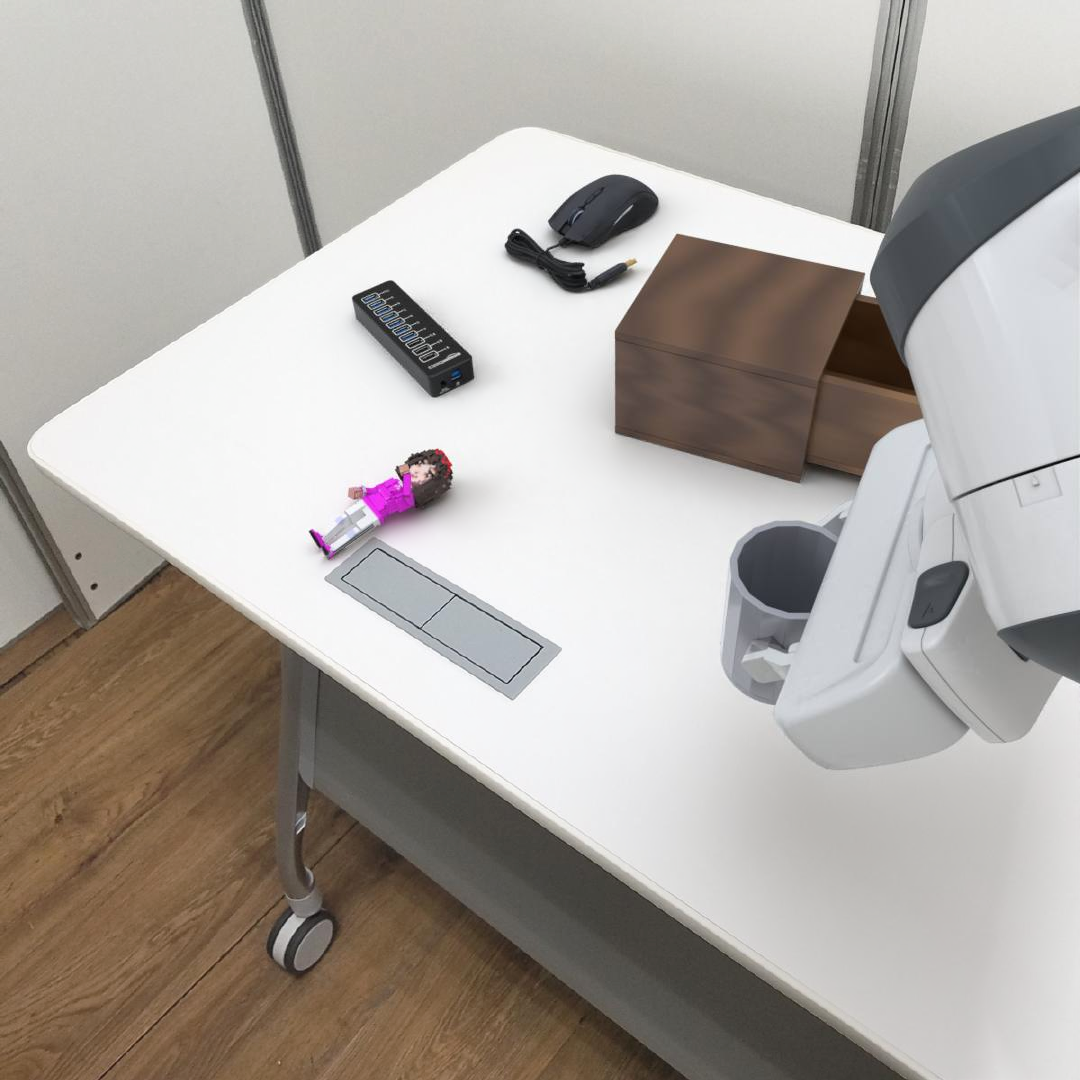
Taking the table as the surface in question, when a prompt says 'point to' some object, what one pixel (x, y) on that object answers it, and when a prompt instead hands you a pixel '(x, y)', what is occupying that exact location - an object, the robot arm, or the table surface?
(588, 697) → the table surface
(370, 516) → the character figurine
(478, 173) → the table surface
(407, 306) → the multiport hub
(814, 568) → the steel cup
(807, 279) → the cabinet
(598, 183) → the computer mouse
